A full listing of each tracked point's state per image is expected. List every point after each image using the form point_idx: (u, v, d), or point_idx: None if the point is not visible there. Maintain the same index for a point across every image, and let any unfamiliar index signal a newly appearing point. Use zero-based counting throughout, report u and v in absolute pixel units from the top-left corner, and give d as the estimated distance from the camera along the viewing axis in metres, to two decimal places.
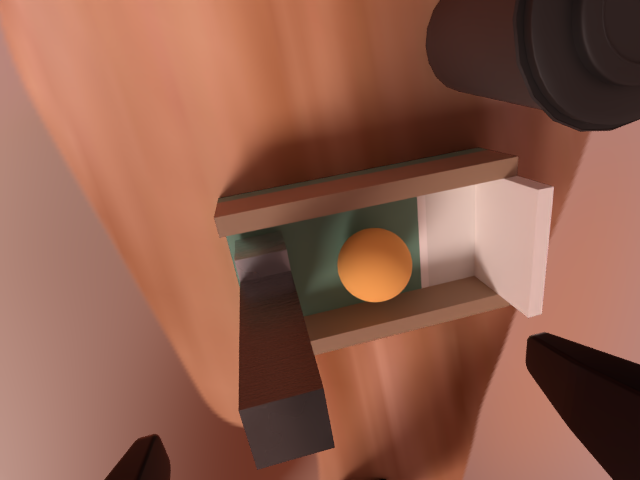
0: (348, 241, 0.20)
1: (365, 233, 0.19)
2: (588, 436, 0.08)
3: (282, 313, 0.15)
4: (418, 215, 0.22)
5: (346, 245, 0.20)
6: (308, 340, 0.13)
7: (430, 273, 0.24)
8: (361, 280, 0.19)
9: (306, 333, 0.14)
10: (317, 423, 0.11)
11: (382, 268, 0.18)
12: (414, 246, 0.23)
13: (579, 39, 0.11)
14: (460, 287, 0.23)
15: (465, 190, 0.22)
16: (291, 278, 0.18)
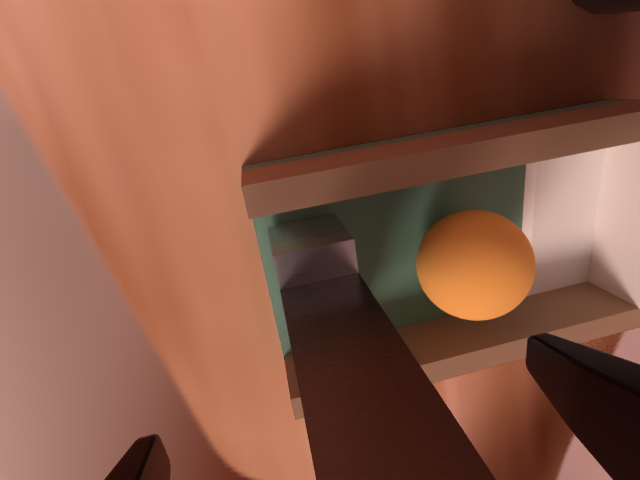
0: (437, 229, 0.13)
1: (465, 216, 0.13)
2: (588, 436, 0.08)
3: (370, 347, 0.08)
4: (524, 195, 0.15)
5: (435, 235, 0.13)
6: (446, 411, 0.07)
7: None
8: (466, 288, 0.12)
9: (435, 394, 0.07)
10: None
11: (501, 269, 0.12)
12: None
13: None
14: (575, 297, 0.17)
15: (591, 159, 0.15)
16: (363, 284, 0.11)
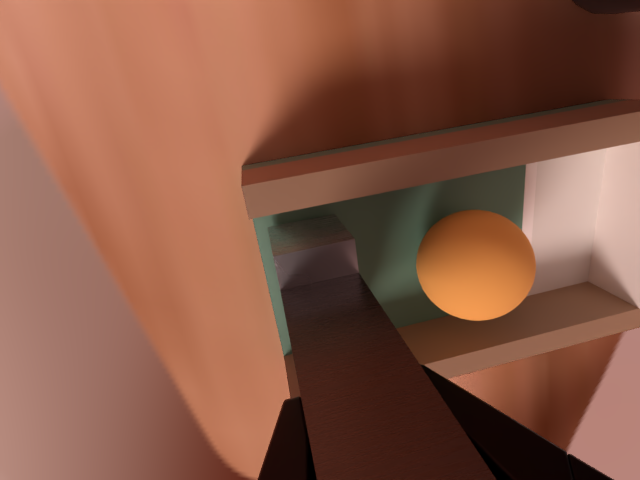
0: (438, 229, 0.13)
1: (465, 216, 0.13)
2: None
3: (370, 347, 0.08)
4: (525, 195, 0.15)
5: (435, 235, 0.13)
6: (447, 411, 0.07)
7: None
8: (466, 288, 0.12)
9: (436, 394, 0.07)
10: None
11: (501, 269, 0.12)
12: None
13: None
14: (575, 297, 0.17)
15: (591, 159, 0.15)
16: (364, 284, 0.11)
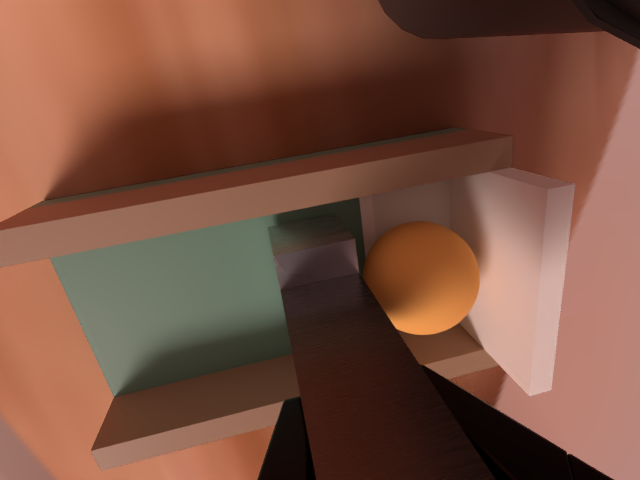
0: (451, 242, 0.12)
1: (426, 226, 0.13)
2: None
3: (370, 347, 0.08)
4: (363, 229, 0.15)
5: (458, 244, 0.12)
6: (447, 412, 0.07)
7: None
8: None
9: (435, 394, 0.07)
10: None
11: None
12: None
13: None
14: (429, 334, 0.16)
15: (434, 191, 0.15)
16: (364, 284, 0.11)
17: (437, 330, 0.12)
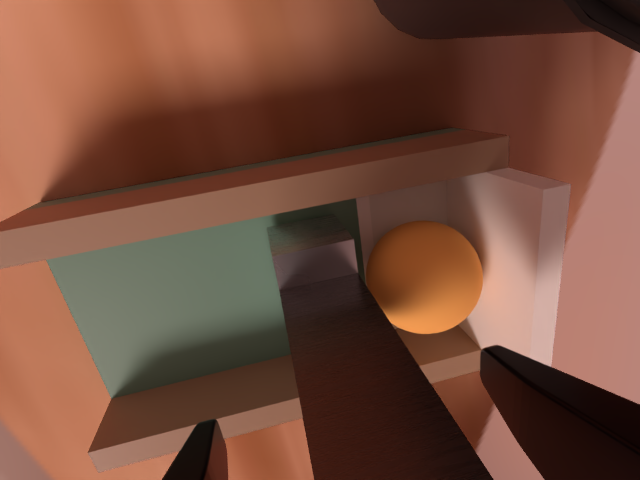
0: (456, 239, 0.12)
1: (429, 225, 0.13)
2: (535, 452, 0.08)
3: (368, 348, 0.08)
4: (360, 229, 0.15)
5: (462, 241, 0.12)
6: (445, 412, 0.07)
7: None
8: None
9: (434, 394, 0.07)
10: None
11: None
12: None
13: None
14: (427, 335, 0.16)
15: (430, 192, 0.15)
16: (363, 285, 0.11)
17: (446, 328, 0.12)
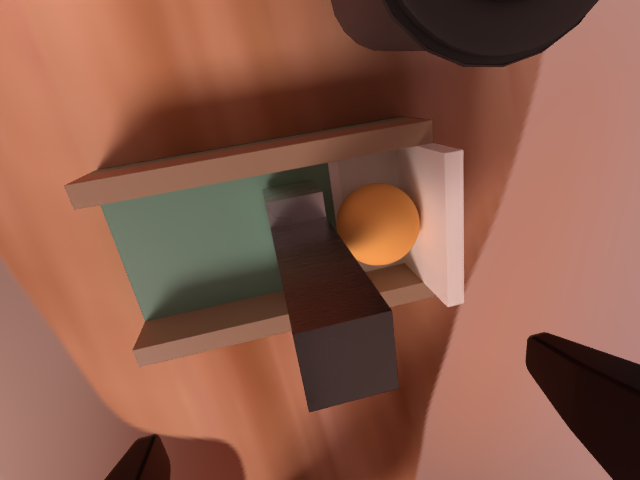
0: (398, 194, 0.17)
1: (380, 185, 0.17)
2: (588, 436, 0.08)
3: (324, 250, 0.13)
4: (332, 192, 0.19)
5: (403, 195, 0.17)
6: (361, 270, 0.11)
7: None
8: None
9: (357, 265, 0.12)
10: (381, 356, 0.10)
11: None
12: None
13: None
14: (385, 275, 0.21)
15: (385, 164, 0.19)
16: (328, 222, 0.16)
17: (392, 258, 0.17)
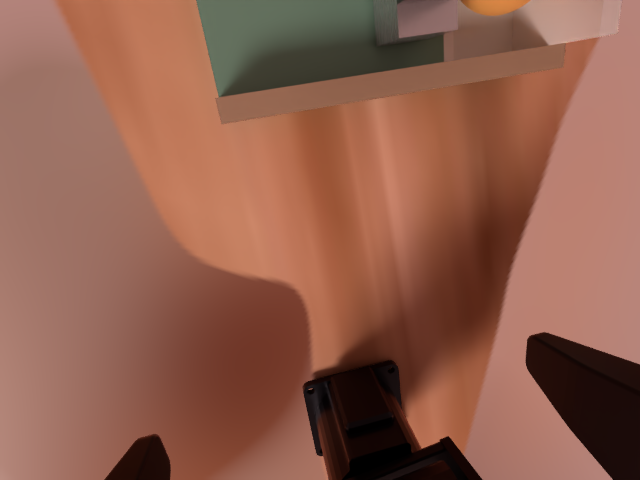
0: None
1: None
2: (588, 436, 0.08)
3: None
4: None
5: None
6: None
7: (455, 40, 0.18)
8: None
9: None
10: None
11: None
12: None
13: None
14: None
15: None
16: None
17: None
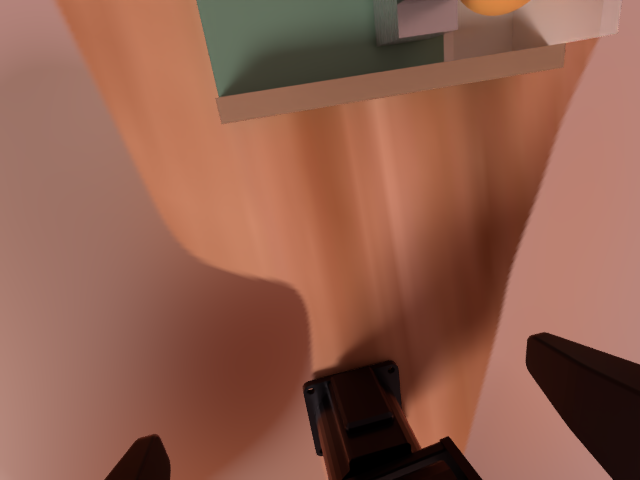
0: None
1: None
2: (588, 436, 0.08)
3: None
4: None
5: None
6: None
7: (455, 40, 0.18)
8: None
9: None
10: None
11: None
12: None
13: None
14: None
15: None
16: None
17: None
